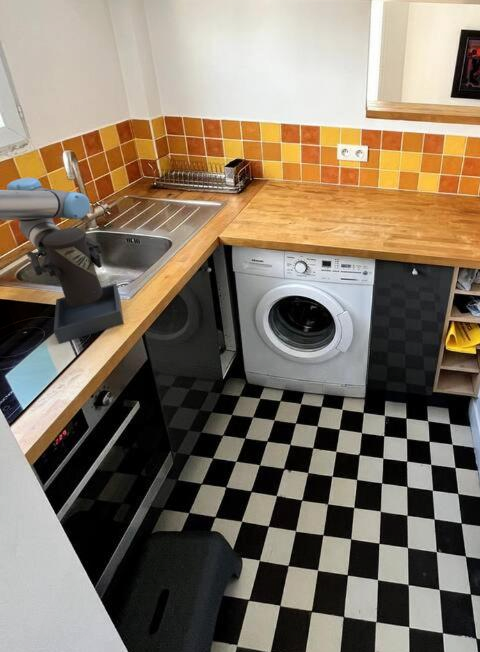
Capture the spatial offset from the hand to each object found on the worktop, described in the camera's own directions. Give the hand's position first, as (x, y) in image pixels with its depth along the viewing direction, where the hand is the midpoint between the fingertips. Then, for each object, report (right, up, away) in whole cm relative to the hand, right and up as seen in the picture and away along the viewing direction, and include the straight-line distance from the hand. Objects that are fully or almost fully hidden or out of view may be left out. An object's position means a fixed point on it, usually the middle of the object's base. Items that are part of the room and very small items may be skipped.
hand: (80, 270), depth 99 cm
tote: (-4, -15, +10) cm, 19 cm away
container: (-4, -9, +7) cm, 12 cm away
